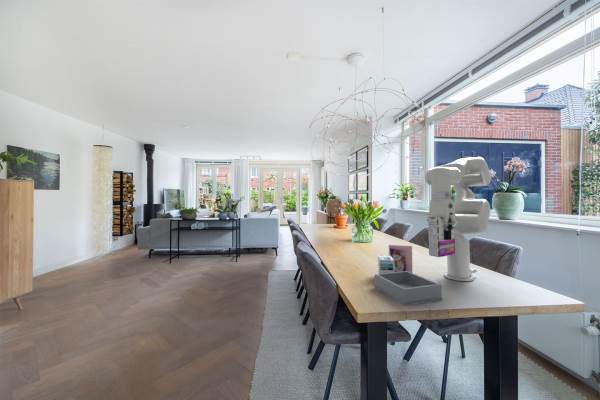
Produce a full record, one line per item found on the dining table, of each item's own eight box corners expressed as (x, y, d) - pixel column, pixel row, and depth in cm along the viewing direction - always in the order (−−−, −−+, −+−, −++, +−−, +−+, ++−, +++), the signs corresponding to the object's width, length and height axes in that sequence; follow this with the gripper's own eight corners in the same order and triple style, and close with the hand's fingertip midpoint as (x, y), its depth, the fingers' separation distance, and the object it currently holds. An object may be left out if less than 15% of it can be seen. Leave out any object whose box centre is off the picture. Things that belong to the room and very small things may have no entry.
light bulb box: (395, 283, 120) (394, 260, 120) (380, 282, 122) (380, 259, 122) (391, 276, 131) (391, 255, 131) (378, 275, 132) (377, 254, 132)
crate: (407, 283, 119) (406, 270, 119) (441, 300, 100) (441, 284, 100) (374, 287, 114) (374, 274, 114) (404, 305, 95) (404, 289, 95)
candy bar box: (444, 252, 114) (443, 215, 114) (455, 254, 110) (455, 216, 110) (427, 255, 109) (427, 216, 109) (438, 257, 105) (438, 217, 105)
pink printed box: (387, 273, 136) (387, 245, 136) (396, 270, 140) (396, 243, 140) (407, 278, 126) (406, 248, 126) (416, 276, 130) (415, 246, 130)
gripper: (465, 196, 102) (466, 241, 102) (432, 196, 119) (433, 235, 119) (450, 196, 100) (451, 242, 100) (419, 196, 117) (419, 236, 117)
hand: (441, 238), depth 110 cm, fingers closed on candy bar box, 5 cm apart
